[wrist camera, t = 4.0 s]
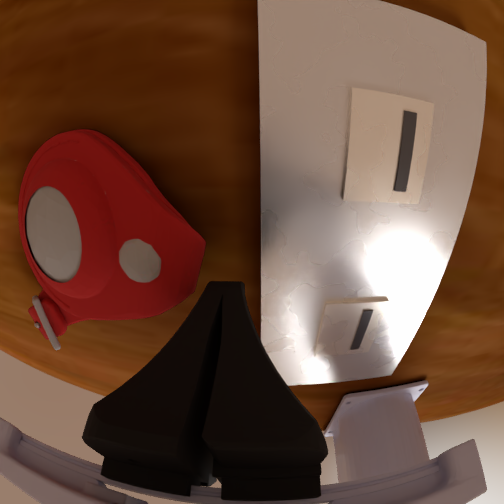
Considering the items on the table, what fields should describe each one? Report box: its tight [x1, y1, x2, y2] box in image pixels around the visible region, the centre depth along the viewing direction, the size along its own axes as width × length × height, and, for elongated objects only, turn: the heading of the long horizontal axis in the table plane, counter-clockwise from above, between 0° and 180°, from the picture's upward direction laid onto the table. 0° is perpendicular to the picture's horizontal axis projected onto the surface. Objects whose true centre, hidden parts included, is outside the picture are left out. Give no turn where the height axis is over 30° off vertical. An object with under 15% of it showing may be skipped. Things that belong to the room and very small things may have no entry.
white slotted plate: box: [257, 0, 487, 385], centre depth 11 cm, size 20×9×1 cm, turn 1°
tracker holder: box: [18, 129, 206, 350], centre depth 11 cm, size 12×4×10 cm
